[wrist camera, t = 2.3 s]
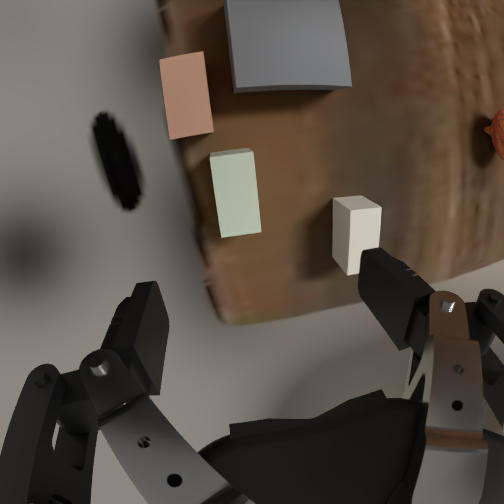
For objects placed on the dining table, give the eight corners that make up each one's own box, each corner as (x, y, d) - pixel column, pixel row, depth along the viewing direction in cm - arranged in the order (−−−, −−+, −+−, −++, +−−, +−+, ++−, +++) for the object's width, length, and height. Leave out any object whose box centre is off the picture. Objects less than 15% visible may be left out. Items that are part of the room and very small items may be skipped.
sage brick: (210, 152, 25) (209, 157, 21) (247, 147, 25) (253, 151, 21) (220, 220, 28) (221, 237, 24) (254, 216, 29) (261, 232, 25)
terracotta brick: (168, 70, 21) (159, 59, 17) (205, 63, 21) (203, 51, 17) (177, 137, 24) (169, 139, 20) (213, 131, 24) (213, 131, 20)
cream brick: (332, 197, 29) (350, 210, 25) (360, 195, 29) (381, 207, 25) (331, 256, 32) (347, 275, 28) (358, 251, 32) (375, 269, 28)
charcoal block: (223, 5, 18) (225, -12, 15) (322, 7, 19) (337, -7, 16) (233, 93, 23) (236, 87, 19) (334, 90, 24) (351, 86, 20)
